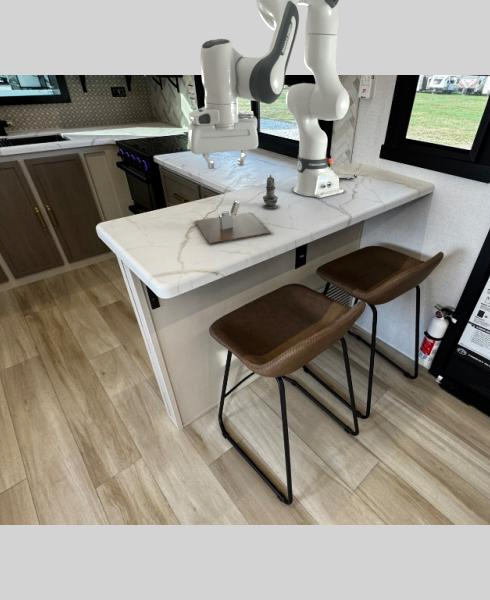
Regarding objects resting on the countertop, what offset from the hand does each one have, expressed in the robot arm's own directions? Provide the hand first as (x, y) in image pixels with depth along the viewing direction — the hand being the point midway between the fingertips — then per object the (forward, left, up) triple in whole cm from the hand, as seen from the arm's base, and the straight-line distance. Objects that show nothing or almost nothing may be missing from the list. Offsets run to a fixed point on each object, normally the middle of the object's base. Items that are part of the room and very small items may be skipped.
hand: (226, 166), depth 96 cm
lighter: (+1, +3, -18) cm, 19 cm away
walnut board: (0, +3, -19) cm, 19 cm away
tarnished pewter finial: (-20, -10, -19) cm, 29 cm away
